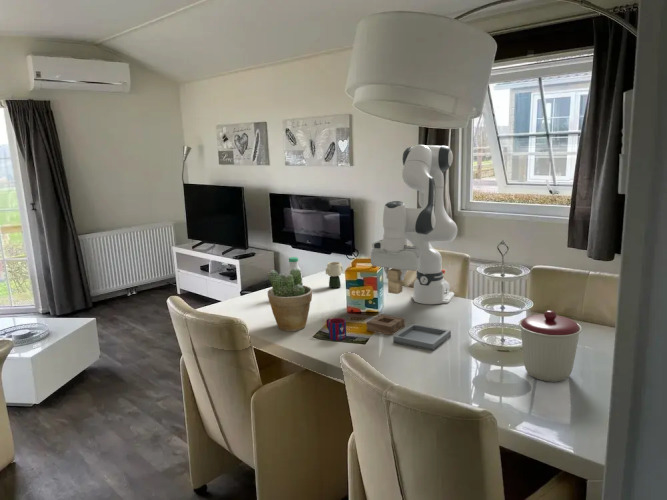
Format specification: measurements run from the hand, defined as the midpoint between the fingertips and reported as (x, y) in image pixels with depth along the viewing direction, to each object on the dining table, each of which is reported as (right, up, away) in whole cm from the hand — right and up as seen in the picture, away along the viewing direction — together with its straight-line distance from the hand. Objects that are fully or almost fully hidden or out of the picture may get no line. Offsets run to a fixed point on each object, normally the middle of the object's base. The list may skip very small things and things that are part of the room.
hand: (395, 279), depth 203 cm
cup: (-23, -23, +3) cm, 32 cm away
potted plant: (-41, -21, +15) cm, 48 cm away
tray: (+10, -23, -5) cm, 25 cm away
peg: (0, -5, +1) cm, 5 cm away
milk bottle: (-43, -12, +57) cm, 72 cm away
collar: (-3, -20, +9) cm, 22 cm away
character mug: (-23, -8, +72) cm, 76 cm away
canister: (+43, -28, -38) cm, 64 cm away
